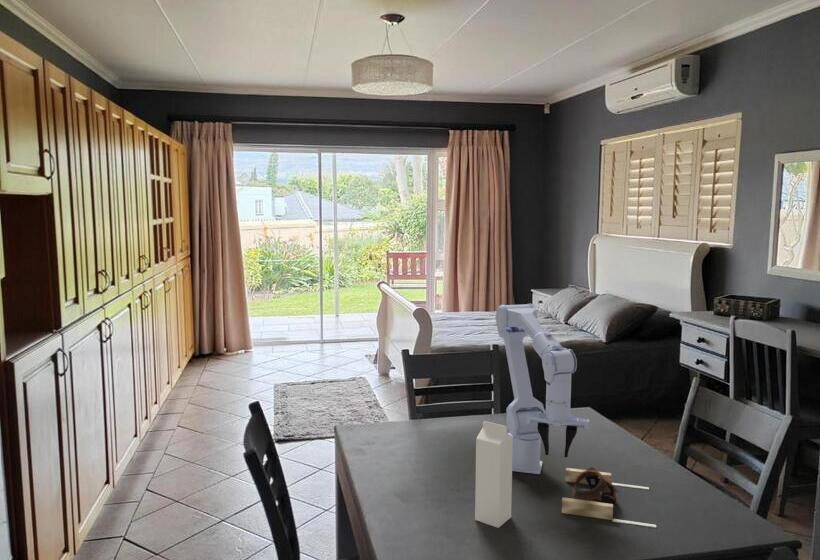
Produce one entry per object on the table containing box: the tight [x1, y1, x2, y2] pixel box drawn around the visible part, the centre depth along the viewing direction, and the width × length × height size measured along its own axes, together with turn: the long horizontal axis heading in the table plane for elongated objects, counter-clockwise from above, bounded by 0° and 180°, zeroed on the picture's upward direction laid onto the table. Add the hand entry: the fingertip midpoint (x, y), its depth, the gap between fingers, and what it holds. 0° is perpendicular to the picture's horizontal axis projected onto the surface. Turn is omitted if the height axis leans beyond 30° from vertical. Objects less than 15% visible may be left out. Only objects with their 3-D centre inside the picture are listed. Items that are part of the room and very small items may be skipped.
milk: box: [474, 420, 513, 529], centre depth 135 cm, size 6×6×22 cm
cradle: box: [561, 467, 614, 521], centre depth 146 cm, size 11×18×3 cm, turn 163°
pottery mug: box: [573, 467, 618, 505], centre depth 145 cm, size 12×10×8 cm
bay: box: [611, 482, 657, 528], centre depth 143 cm, size 9×20×1 cm, turn 163°
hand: (556, 454), depth 147 cm, fingers open, 4 cm apart
